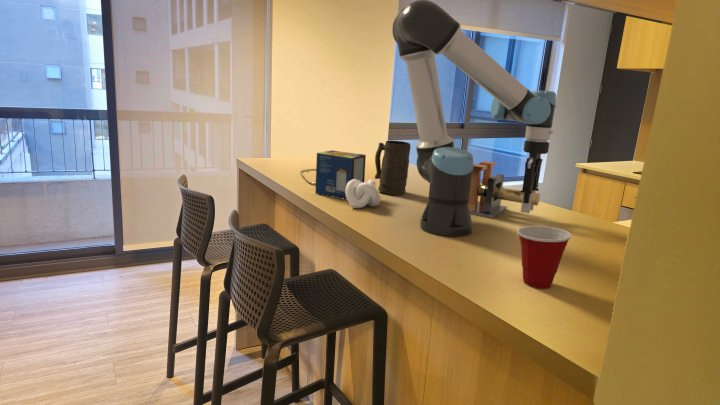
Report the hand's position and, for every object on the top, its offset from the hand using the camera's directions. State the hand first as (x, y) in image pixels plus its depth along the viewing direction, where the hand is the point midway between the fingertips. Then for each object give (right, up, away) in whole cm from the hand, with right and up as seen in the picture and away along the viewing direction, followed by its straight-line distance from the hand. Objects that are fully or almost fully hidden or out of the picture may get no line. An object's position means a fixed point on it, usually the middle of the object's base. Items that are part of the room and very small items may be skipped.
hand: (526, 210), depth 153 cm
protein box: (-63, +5, +20) cm, 66 cm away
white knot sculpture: (-55, +1, +5) cm, 55 cm away
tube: (-7, +4, +4) cm, 9 cm away
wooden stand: (-14, 0, +9) cm, 17 cm away
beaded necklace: (-71, +13, +49) cm, 87 cm away
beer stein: (-44, +7, +29) cm, 53 cm away
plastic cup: (-17, -15, -52) cm, 57 cm away
